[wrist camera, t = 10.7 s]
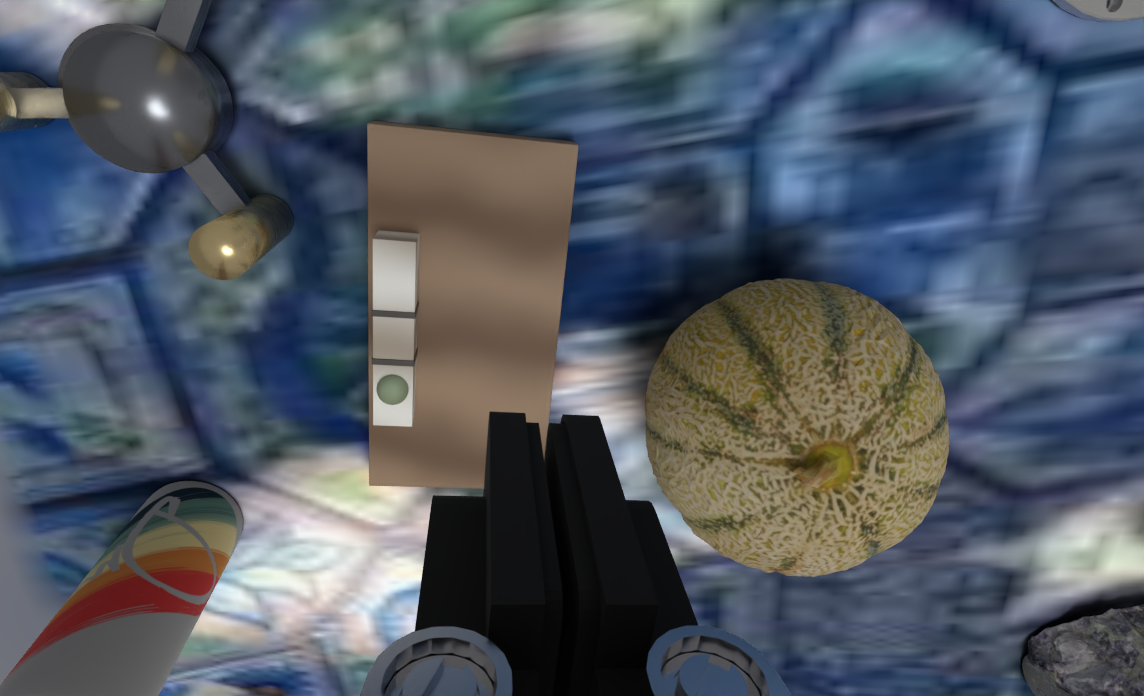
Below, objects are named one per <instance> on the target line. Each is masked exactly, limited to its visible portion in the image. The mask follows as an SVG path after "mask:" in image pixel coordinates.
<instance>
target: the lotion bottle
mask: <svg viewBox="0 0 1144 696" xmlns="http://www.w3.org/2000/svg"><path fill="white" fill-rule="evenodd" d="M242 529H243V517H242V513H241V511H240V509H239V507H238V505H237V504H236V502H235V501H234V500H233V499H232V498H231V497H230V496H229V495H228V494H227V493H226V492H224V491H223V490H221V489H219V488H217V487H215V486H213V485H210V484H207V483H203V482H198V481H180V482H175V483H171V484H168V485H166V486H164V487H162V488H160V489H159V490H157V491H156V492H155V493H153V494H152V495H151V496H150V497H149V498H148V499H147V501H146V502H145V503H144V504H143V505H142V506H141V508H140V509H139V510H138V511H137V513H136V514H135V515H134V516H133V518H132V519H131V520H130V521H129V523H128V524H127V525H126V526H125V528H124V529H123V530H122V531H121V533H120V534H119V535H118V536H117V538H116V539H115V540H114V542H113V543H112V544H111V545H110V547H109V548H108V549H107V550H106V552H105V553H104V554H103V556H102V557H101V558H100V559H99V561H98V562H97V563H96V564H95V566H94V567H93V568H92V569H91V571H90V572H89V573H88V575H87V576H86V577H85V578H84V580H83V581H82V582H81V583H80V585H79V586H78V587H77V588H76V590H75V591H74V592H73V594H72V595H71V596H70V597H69V599H68V600H67V601H66V602H65V604H64V605H63V606H62V608H61V609H60V610H59V611H58V613H57V614H56V615H55V616H54V618H53V619H52V620H51V621H50V623H49V624H48V625H47V627H46V628H45V629H44V630H43V632H42V633H41V634H40V635H39V637H38V638H37V639H36V641H35V642H34V643H33V644H32V646H31V647H30V648H29V649H28V651H27V652H26V653H25V654H24V656H23V657H22V658H21V660H20V661H19V662H18V663H17V665H16V666H15V667H14V669H13V670H12V671H11V672H10V674H9V675H8V676H7V677H6V679H5V680H4V681H3V682H2V684H1V685H0V696H158V695H159V693H160V691H161V689H162V687H163V685H164V683H165V682H166V680H167V678H168V676H169V674H170V672H171V670H172V668H173V666H174V664H175V662H176V661H177V659H178V657H179V655H180V653H181V651H182V649H183V647H184V645H185V643H186V641H187V640H188V638H189V636H190V634H191V632H192V630H193V628H194V626H195V624H196V622H197V620H198V619H199V617H200V615H201V613H202V611H203V609H204V607H205V605H206V603H207V601H208V600H209V598H210V596H211V594H212V592H213V590H214V588H215V586H216V584H217V582H218V580H219V579H220V577H221V575H222V573H223V571H224V569H225V567H226V565H227V563H228V561H229V559H230V557H231V556H232V554H233V552H234V550H235V548H236V546H237V543H238V541H239V539H240V536H241V534H242Z"/></svg>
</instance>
